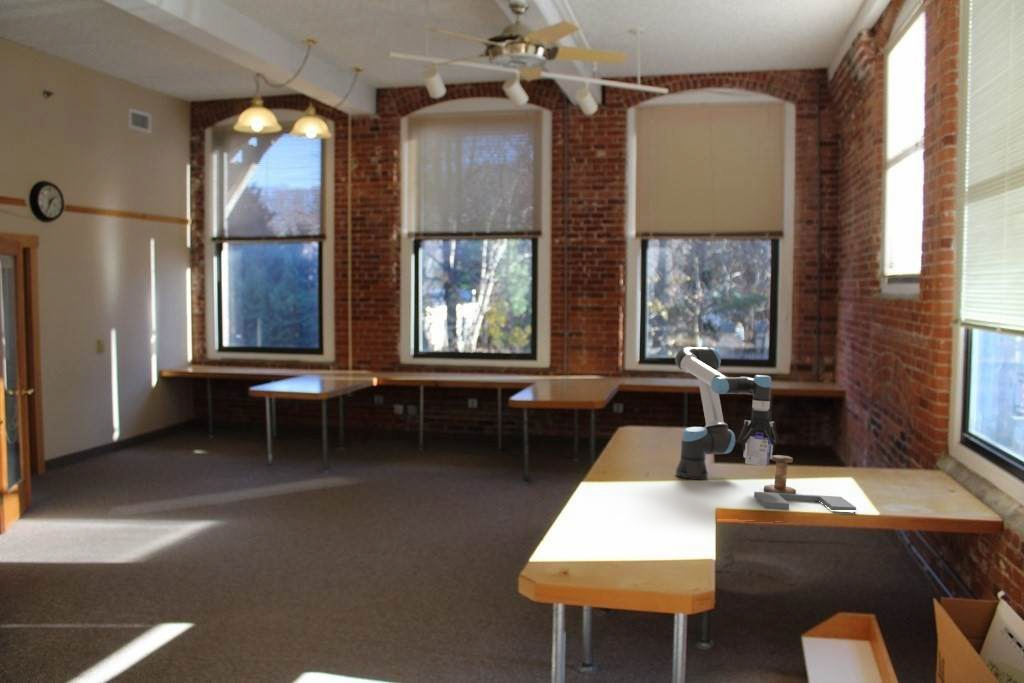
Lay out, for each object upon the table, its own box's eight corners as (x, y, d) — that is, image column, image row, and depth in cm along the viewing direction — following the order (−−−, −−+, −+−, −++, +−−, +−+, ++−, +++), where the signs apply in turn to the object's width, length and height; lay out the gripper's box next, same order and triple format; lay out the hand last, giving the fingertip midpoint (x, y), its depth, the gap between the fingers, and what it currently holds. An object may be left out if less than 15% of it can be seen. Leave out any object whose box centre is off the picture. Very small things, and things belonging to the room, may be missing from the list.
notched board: (765, 508, 366) (765, 502, 366) (753, 497, 384) (754, 491, 384) (855, 513, 366) (856, 507, 365) (840, 502, 384) (840, 496, 383)
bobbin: (768, 494, 390) (771, 459, 389) (760, 487, 404) (762, 453, 403) (799, 496, 390) (802, 461, 389) (790, 489, 404) (793, 455, 403)
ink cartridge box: (769, 465, 394) (771, 433, 393) (766, 467, 389) (769, 434, 389) (747, 462, 399) (749, 430, 398) (744, 463, 394) (746, 432, 393)
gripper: (737, 409, 389) (734, 458, 390) (789, 412, 389) (785, 460, 390) (732, 407, 396) (729, 455, 398) (783, 409, 396) (780, 457, 398)
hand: (757, 458), depth 394 cm, fingers closed on ink cartridge box, 11 cm apart
